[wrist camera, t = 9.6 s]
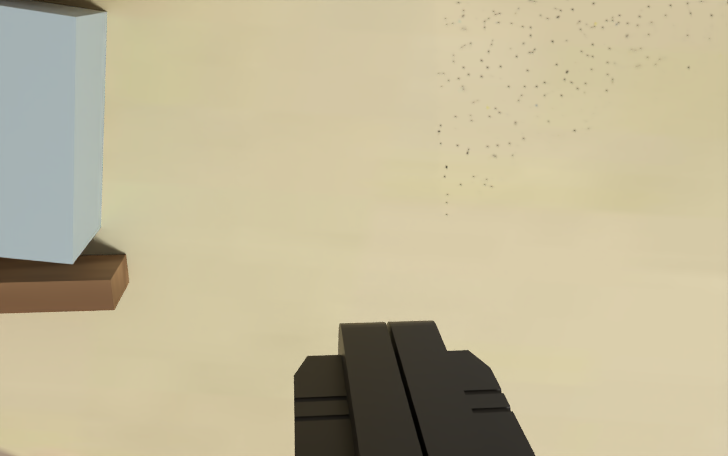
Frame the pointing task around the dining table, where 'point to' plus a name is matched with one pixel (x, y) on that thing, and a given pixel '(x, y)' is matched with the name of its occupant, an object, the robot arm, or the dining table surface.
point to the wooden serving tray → (62, 284)
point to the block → (50, 129)
